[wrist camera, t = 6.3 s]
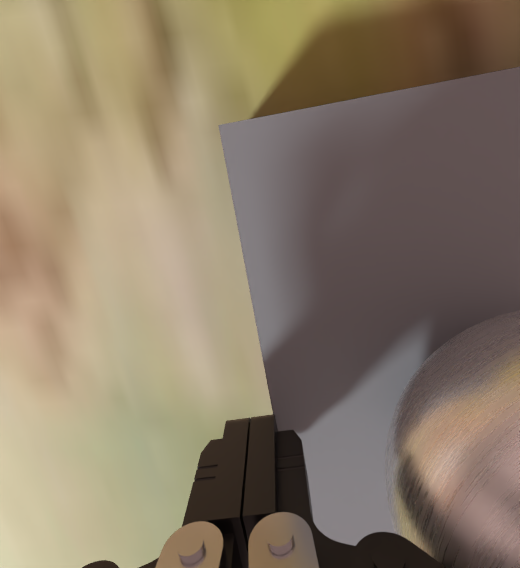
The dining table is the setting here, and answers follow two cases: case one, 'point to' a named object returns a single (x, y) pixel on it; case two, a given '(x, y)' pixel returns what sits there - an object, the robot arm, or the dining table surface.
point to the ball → (461, 450)
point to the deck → (372, 262)
